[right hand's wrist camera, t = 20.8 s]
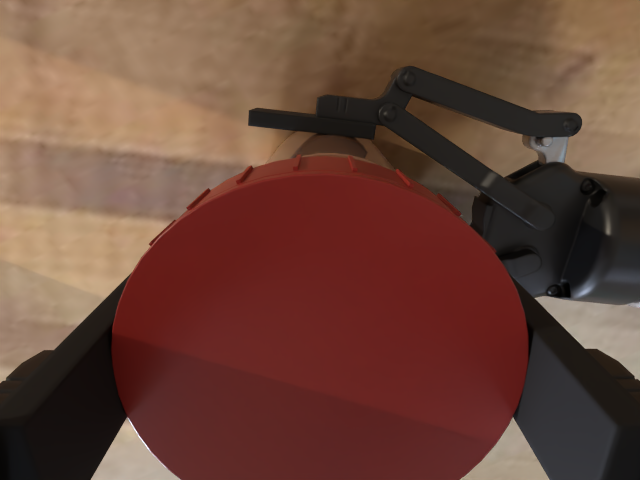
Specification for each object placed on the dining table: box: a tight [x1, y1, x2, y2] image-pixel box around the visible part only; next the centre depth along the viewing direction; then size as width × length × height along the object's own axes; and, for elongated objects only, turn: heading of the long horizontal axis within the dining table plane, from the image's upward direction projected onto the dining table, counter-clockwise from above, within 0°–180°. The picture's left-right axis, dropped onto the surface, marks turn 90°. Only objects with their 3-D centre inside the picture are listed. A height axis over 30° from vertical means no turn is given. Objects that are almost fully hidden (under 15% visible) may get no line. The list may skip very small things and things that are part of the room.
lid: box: [111, 154, 529, 480], centre depth 11 cm, size 10×10×2 cm
